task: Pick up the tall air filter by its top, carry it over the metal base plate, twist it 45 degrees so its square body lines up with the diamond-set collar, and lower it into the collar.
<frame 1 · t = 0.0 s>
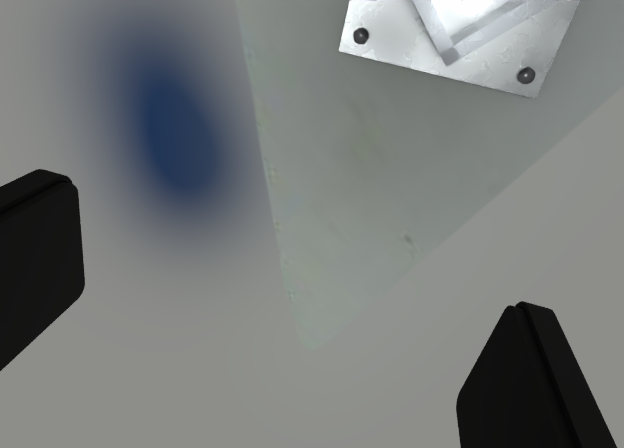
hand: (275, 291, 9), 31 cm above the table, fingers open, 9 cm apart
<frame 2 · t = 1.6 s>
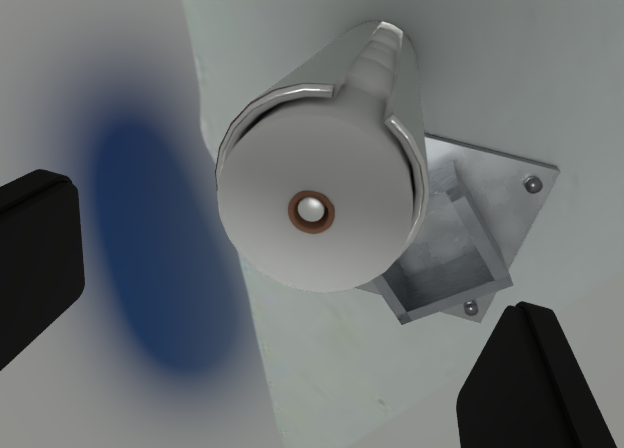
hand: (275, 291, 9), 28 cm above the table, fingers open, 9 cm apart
metal base plate: (424, 225, 39), on the table
air filter: (373, 66, 34), on the table
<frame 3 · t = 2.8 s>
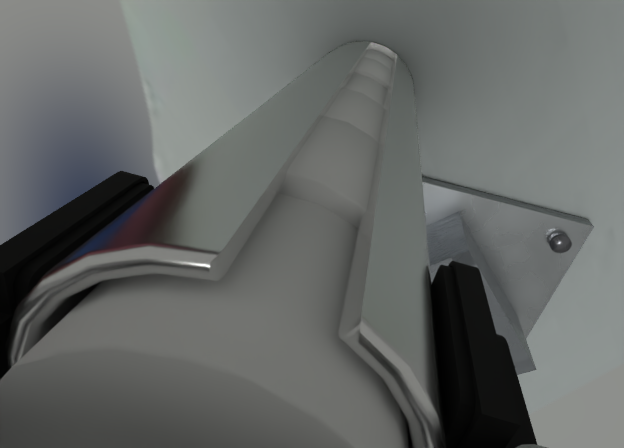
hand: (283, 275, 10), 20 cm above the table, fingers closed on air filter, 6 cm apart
metal base plate: (424, 283, 32), on the table
air filter: (360, 96, 27), on the table, touching gripper
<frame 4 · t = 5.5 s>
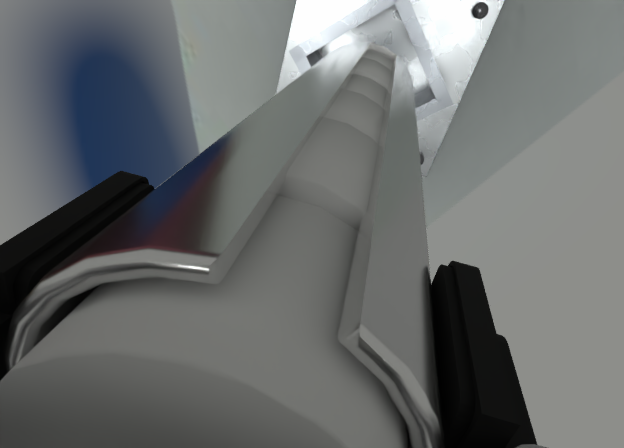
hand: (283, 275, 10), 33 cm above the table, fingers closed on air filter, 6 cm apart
metal base plate: (375, 65, 39), on the table
air filter: (360, 96, 27), point 14 cm above the table, touching gripper
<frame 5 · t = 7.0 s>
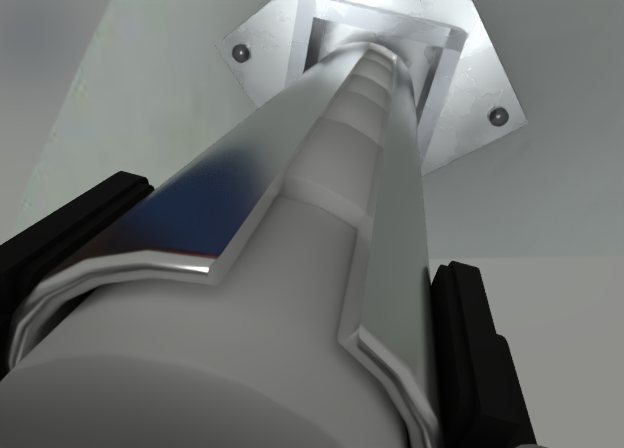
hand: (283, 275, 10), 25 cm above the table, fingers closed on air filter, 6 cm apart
metal base plate: (368, 81, 31), on the table
air filter: (360, 97, 27), point 5 cm above the table, touching gripper
when the fingers open (22 cm above the table, at t = 8.0 s): air filter drops 1 cm, resting on metal base plate.
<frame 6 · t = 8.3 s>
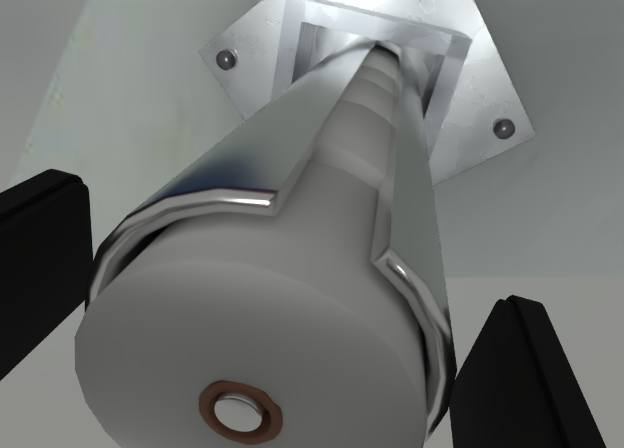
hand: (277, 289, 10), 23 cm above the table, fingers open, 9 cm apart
metal base plate: (363, 89, 29), on the table
air filter: (367, 90, 28), point 1 cm above the table, touching metal base plate
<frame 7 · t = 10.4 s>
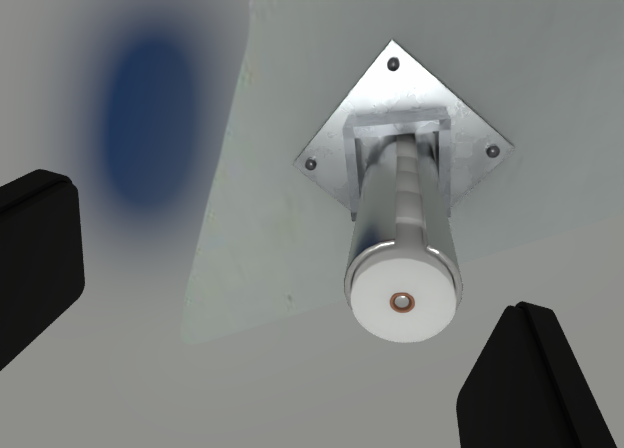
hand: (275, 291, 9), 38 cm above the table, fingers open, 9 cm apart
metal base plate: (397, 154, 46), on the table
air filter: (400, 154, 45), point 1 cm above the table, touching metal base plate
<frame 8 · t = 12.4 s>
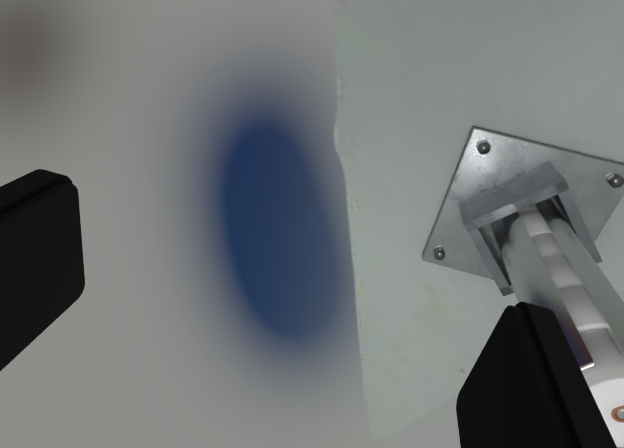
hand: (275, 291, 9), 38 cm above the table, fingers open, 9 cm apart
metal base plate: (518, 215, 47), on the table
air filter: (521, 216, 46), point 1 cm above the table, touching metal base plate
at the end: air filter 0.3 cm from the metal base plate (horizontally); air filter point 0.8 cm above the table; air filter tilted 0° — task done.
